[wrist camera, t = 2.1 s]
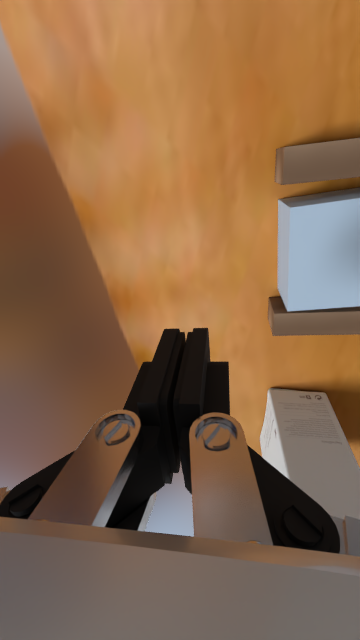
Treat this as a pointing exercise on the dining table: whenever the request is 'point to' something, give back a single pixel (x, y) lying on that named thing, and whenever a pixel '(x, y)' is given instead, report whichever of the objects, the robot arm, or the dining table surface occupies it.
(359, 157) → the brown parallel rails
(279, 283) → the block
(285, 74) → the dining table surface
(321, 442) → the skincare box
